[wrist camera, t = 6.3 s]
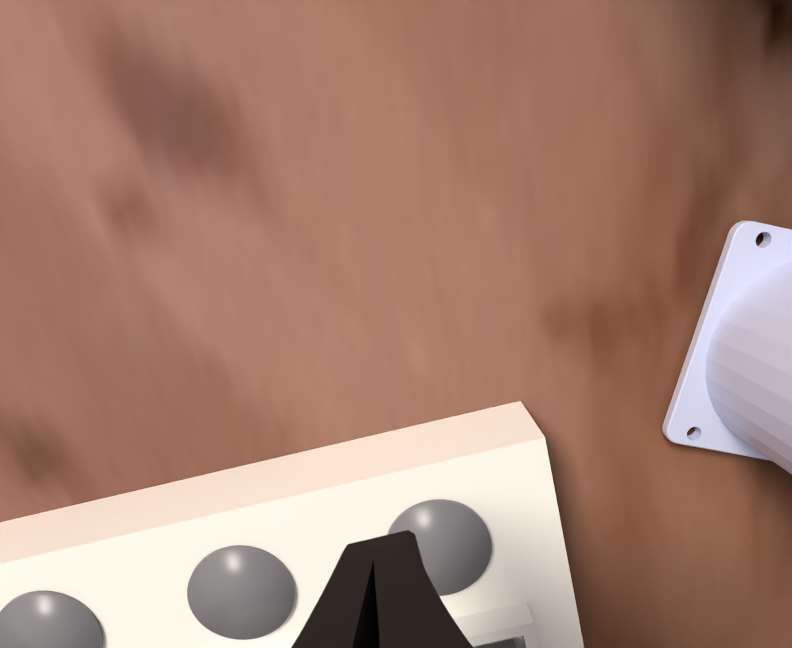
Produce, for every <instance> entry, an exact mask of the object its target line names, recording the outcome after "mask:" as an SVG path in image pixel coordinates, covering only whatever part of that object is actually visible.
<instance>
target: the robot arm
mask: <svg viewBox="0 0 792 648" xmlns="http://www.w3.org/2000/svg"><path fill="white" fill-rule="evenodd" d="M761 232H762V234H763V241H762V243H761V244H760V245H758V246H757V245H756V237H757V236H758V234H760V233H761ZM692 427H695V431H694V432H693V434H691V435H688V436H687V432H688V430H689V429H690V428H692ZM662 431H663V434H664V435H665V436H666V437H667V438H668V439H669V440H670V441H671V442H674V443H677V444H682V445H688V446H693V447H699V448H704V449H710V450H715V451H721V452H726V453H732V454H737V455H743V456H748V457H754V458H759V459H765V460H770V461H773V462H774V463H776V464H777V465H779V466H780V467H782V468H783V469H785V470H786V471H787V472H789V473H790V474H792V230H791V229H786V228H781V227H777V226H772V225H768V224H763V223H759V222H754V221H740V222H738V223H736V224H735V225H734V226H733V227H732V228H731V229H730V231H729V233H728V236H727V239H726V242H725V245H724V248H723V251H722V254H721V256H720V259H719V262H718V265H717V268H716V271H715V274H714V277H713V280H712V283H711V286H710V289H709V291H708V294H707V297H706V300H705V303H704V306H703V309H702V312H701V315H700V318H699V321H698V324H697V326H696V329H695V332H694V335H693V338H692V341H691V344H690V347H689V350H688V353H687V356H686V359H685V362H684V364H683V367H682V370H681V373H680V376H679V379H678V382H677V385H676V388H675V391H674V394H673V397H672V399H671V402H670V405H669V408H668V411H667V414H666V417H665V420H664V423H663V427H662ZM291 648H473V646H472V645H471V644H470V642H469V641H468V640H467V638H466V637H465V635H464V634H463V633H462V631H461V630H460V628H459V627H458V625H457V624H456V622H455V621H454V619H453V618H452V616H451V615H450V613H449V612H448V610H447V608H446V607H445V605H444V604H443V602H442V600H441V598H440V597H439V595H438V593H437V591H436V589H435V588H434V586H433V584H432V582H431V580H430V578H429V576H428V574H427V572H426V570H425V568H424V565H423V561H422V558H421V554H420V550H419V547H418V543H417V539H416V536H415V534H414V533H413V532H411V531H409V530H406V531H401V532H397V533H393V534H389V535H384V536H380V537H376V538H372V539H367V540H363V541H359V542H355V543H350V544H347V546H346V547H345V549H344V550H343V552H342V554H341V556H340V558H339V560H338V562H337V564H336V566H335V568H334V571H333V573H332V575H331V577H330V579H329V581H328V583H327V584H326V586H325V588H324V590H323V592H322V594H321V596H320V598H319V600H318V602H317V603H316V605H315V607H314V609H313V611H312V613H311V614H310V616H309V618H308V620H307V622H306V623H305V625H304V627H303V629H302V631H301V632H300V634H299V636H298V637H297V639H296V641H295V642H294V644H293V645H292V647H291Z"/></svg>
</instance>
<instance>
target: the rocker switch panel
mask: <svg viewBox="0 0 792 648" xmlns="http://www.w3.org/2000/svg"><path fill="white" fill-rule="evenodd" d="M406 530H409V531H411V532H413V533H414V534H415V536H416V539H417V543H418V547H419V550H420V554H421V558H422V561H423V565H424V568H425V570H426V572H427V574H428V576H429V578H430V580H431V582H432V584H433V586H434V588H435V589H436V591H437V593H438V595H439V597H440V598H441V600H442V602H443V604H444V605H445V607H446V608H447V610H448V612H449V613H450V615H451V616H452V618H453V619H454V621H455V622H456V624H457V625H458V627H459V628H460V630H461V631H462V633H463V634H464V635H465V637H466V638H467V640H468V641H469V642H470V644H471V645H472V646H473V648H474V647H479V646H483V645H488V644H492V643H497V642H501V641H506V640H510V639H514V642H515V645H516V648H584V644H583V639H582V634H581V628H580V623H579V617H578V612H577V607H576V601H575V596H574V591H573V585H572V580H571V574H570V569H569V564H568V558H567V553H566V548H565V542H564V537H563V531H562V526H561V521H560V515H559V510H558V505H557V499H556V494H555V488H554V483H553V478H552V472H551V467H550V462H549V456H548V451H547V445H546V440H545V437H544V435H543V434H542V432H541V431H540V429H539V428H538V426H537V425H536V423H535V422H534V420H533V419H532V417H531V416H530V414H529V413H528V411H527V410H526V408H525V407H524V405H523V404H522V402H521V401H518V402H514V403H509V404H505V405H501V406H496V407H492V408H488V409H484V410H479V411H475V412H471V413H466V414H462V415H458V416H454V417H449V418H445V419H441V420H437V421H432V422H428V423H424V424H419V425H415V426H411V427H407V428H402V429H398V430H394V431H389V432H385V433H381V434H377V435H372V436H368V437H364V438H359V439H355V440H351V441H347V442H342V443H338V444H334V445H330V446H325V447H321V448H317V449H312V450H308V451H304V452H300V453H295V454H291V455H287V456H282V457H278V458H274V459H270V460H265V461H261V462H257V463H252V464H248V465H244V466H240V467H235V468H231V469H227V470H223V471H218V472H214V473H210V474H205V475H201V476H197V477H193V478H188V479H184V480H180V481H175V482H171V483H167V484H163V485H158V486H154V487H150V488H145V489H141V490H137V491H133V492H128V493H124V494H120V495H116V496H111V497H107V498H103V499H98V500H94V501H90V502H86V503H81V504H77V505H73V506H68V507H64V508H60V509H56V510H51V511H47V512H43V513H38V514H34V515H30V516H26V517H21V518H17V519H13V520H9V521H4V522H0V648H291V647H292V645H293V644H294V642H295V641H296V639H297V637H298V636H299V634H300V632H301V631H302V629H303V627H304V625H305V623H306V622H307V620H308V618H309V616H310V614H311V613H312V611H313V609H314V607H315V605H316V603H317V602H318V600H319V598H320V596H321V594H322V592H323V590H324V588H325V586H326V584H327V583H328V581H329V579H330V577H331V575H332V573H333V571H334V568H335V566H336V564H337V562H338V560H339V558H340V556H341V554H342V552H343V550H344V549H345V547H346V546H347V544H350V543H355V542H359V541H363V540H367V539H372V538H376V537H380V536H384V535H389V534H393V533H397V532H401V531H406Z"/></svg>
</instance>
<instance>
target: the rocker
mask: <svg viewBox="0 0 792 648" xmlns="http://www.w3.org/2000/svg"><path fill="white" fill-rule="evenodd" d="M474 648H516V645H515V642H514V639H510V640H506V641H501V642H497V643H492V644H488V645H483V646H479V647H474Z"/></svg>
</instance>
